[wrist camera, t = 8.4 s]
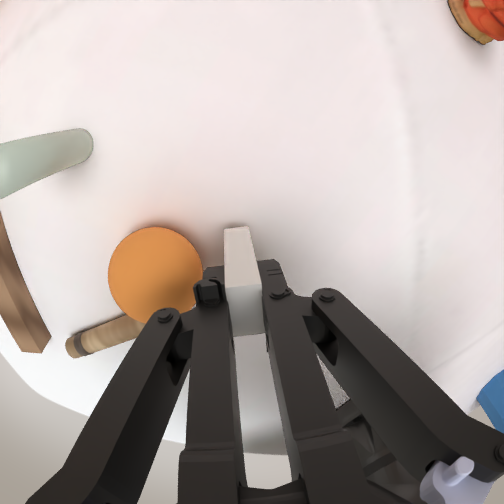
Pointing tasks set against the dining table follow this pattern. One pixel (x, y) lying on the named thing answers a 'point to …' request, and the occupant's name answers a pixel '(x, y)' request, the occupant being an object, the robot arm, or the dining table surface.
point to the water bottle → (494, 400)
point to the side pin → (41, 157)
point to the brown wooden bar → (19, 302)
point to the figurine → (480, 18)
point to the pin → (103, 336)
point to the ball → (154, 273)
